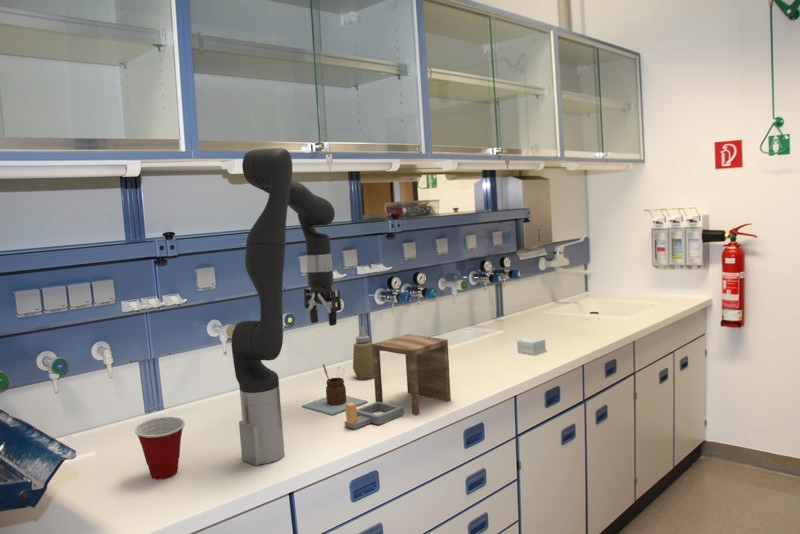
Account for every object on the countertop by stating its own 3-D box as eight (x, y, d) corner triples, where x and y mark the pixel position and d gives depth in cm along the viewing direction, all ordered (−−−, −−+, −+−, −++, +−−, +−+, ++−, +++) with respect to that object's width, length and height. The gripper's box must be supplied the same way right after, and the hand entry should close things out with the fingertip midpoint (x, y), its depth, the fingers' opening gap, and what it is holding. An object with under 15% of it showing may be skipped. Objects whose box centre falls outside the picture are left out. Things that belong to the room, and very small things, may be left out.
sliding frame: (362, 431, 162) (360, 408, 162) (337, 424, 169) (335, 401, 169) (403, 414, 174) (402, 392, 173) (378, 407, 181) (377, 387, 180)
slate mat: (332, 415, 177) (332, 414, 177) (301, 407, 187) (301, 405, 187) (367, 402, 187) (367, 401, 187) (337, 394, 197) (337, 393, 197)
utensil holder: (345, 405, 185) (342, 365, 183) (324, 406, 185) (321, 366, 184) (347, 398, 190) (345, 360, 189) (327, 400, 191) (324, 361, 189)
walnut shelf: (416, 415, 173) (412, 350, 171) (375, 405, 184) (371, 344, 182) (450, 400, 184) (447, 339, 183) (410, 392, 195) (407, 334, 194)
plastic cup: (146, 489, 136) (140, 436, 134) (134, 474, 144) (129, 424, 143) (195, 474, 142) (191, 424, 141) (181, 460, 151) (176, 412, 150)
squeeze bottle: (381, 376, 216) (378, 325, 214) (365, 382, 210) (361, 329, 208) (365, 373, 221) (362, 323, 219) (348, 378, 215) (345, 327, 213)
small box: (546, 352, 236) (545, 339, 236) (533, 356, 231) (532, 342, 231) (530, 349, 242) (529, 336, 242) (517, 353, 237) (516, 340, 237)
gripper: (295, 270, 185) (298, 324, 187) (325, 271, 175) (329, 328, 177) (314, 267, 191) (318, 320, 192) (345, 268, 181) (349, 323, 182)
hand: (323, 323), depth 184 cm, fingers open, 8 cm apart
